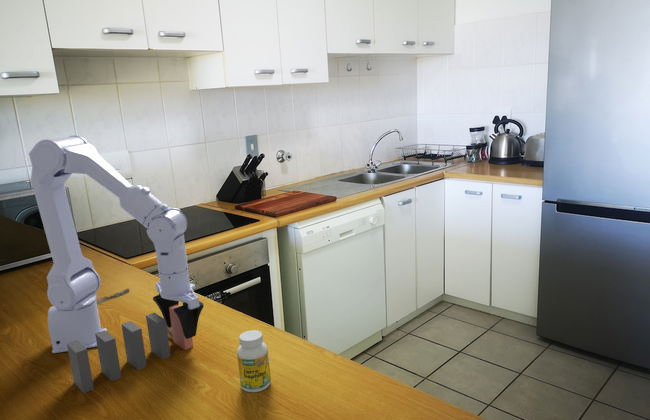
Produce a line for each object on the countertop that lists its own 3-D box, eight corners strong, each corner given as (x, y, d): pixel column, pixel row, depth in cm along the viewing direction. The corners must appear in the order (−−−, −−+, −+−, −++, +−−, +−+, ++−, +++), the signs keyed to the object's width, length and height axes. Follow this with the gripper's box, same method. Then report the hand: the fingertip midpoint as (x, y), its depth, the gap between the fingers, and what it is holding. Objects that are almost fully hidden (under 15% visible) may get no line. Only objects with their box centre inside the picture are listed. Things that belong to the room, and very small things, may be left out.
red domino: (185, 349, 101) (180, 313, 100) (173, 342, 105) (168, 307, 103) (193, 346, 103) (188, 310, 101) (181, 339, 106) (176, 304, 104)
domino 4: (162, 359, 98) (157, 322, 96) (151, 351, 102) (145, 315, 100) (170, 356, 99) (165, 319, 97) (159, 348, 103) (154, 312, 101)
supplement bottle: (269, 374, 91) (264, 326, 89) (272, 390, 86) (268, 339, 84) (239, 379, 90) (234, 330, 88) (241, 395, 85) (236, 345, 83)
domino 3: (138, 370, 95) (132, 331, 93) (127, 361, 98) (121, 324, 96) (147, 366, 96) (141, 328, 94) (136, 357, 99) (130, 321, 98)
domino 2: (111, 381, 91) (105, 342, 90) (101, 371, 95) (95, 333, 93) (121, 377, 93) (115, 338, 91) (111, 367, 96) (104, 330, 94)
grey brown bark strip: (82, 305, 129) (88, 311, 125) (81, 301, 128) (87, 307, 125) (127, 290, 136) (134, 295, 132) (126, 286, 136) (133, 291, 132)
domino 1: (83, 393, 88) (76, 352, 86) (74, 382, 92) (66, 343, 90) (94, 389, 89) (86, 348, 87) (84, 378, 93) (77, 339, 91)
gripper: (209, 271, 98) (216, 334, 101) (174, 257, 108) (181, 314, 111) (176, 282, 93) (185, 348, 96) (143, 266, 103) (151, 326, 106)
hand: (181, 331), depth 103 cm, fingers open, 7 cm apart
